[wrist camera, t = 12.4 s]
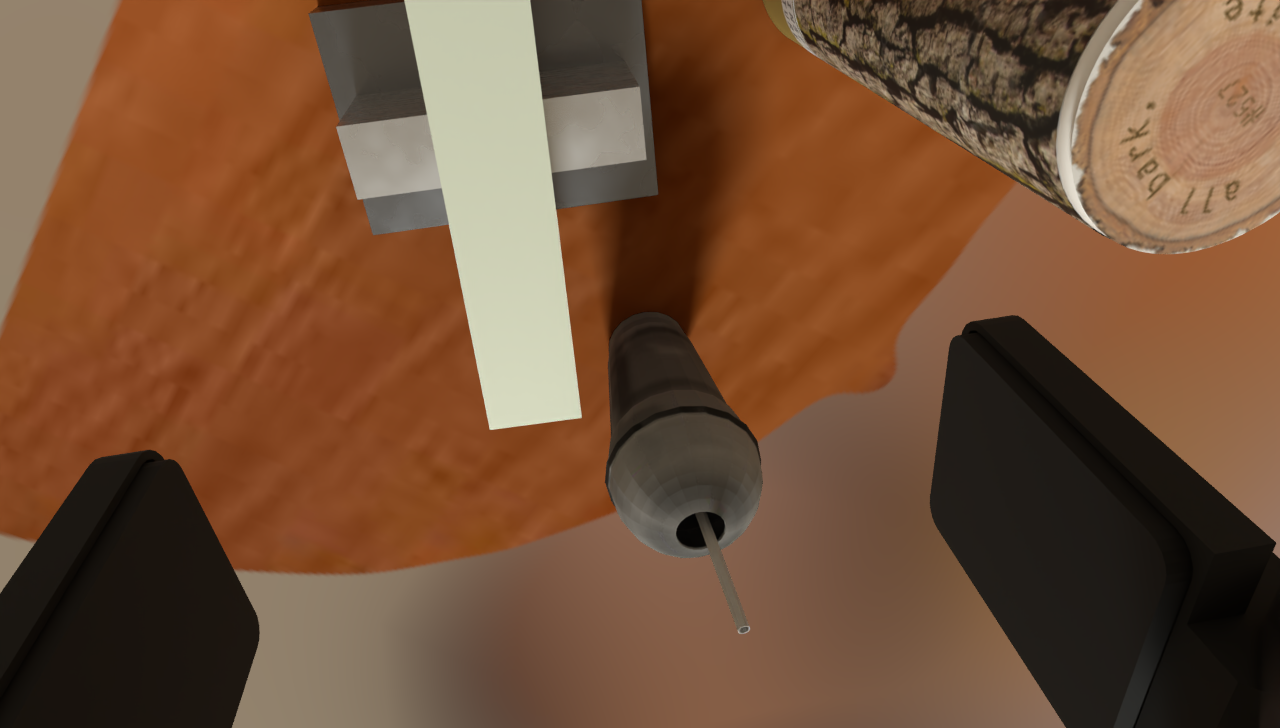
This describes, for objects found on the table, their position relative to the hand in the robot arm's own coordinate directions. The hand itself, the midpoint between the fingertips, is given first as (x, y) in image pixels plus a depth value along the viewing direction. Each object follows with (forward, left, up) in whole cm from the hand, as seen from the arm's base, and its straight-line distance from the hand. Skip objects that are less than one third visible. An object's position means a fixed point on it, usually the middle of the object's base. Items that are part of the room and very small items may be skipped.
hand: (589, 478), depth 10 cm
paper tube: (-1, +14, -32) cm, 35 cm away
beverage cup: (+18, +4, -32) cm, 37 cm away
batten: (+3, -2, -25) cm, 26 cm away
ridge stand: (+3, -2, -32) cm, 33 cm away
